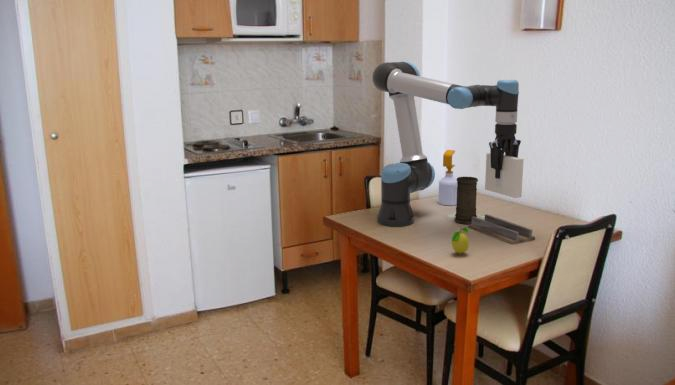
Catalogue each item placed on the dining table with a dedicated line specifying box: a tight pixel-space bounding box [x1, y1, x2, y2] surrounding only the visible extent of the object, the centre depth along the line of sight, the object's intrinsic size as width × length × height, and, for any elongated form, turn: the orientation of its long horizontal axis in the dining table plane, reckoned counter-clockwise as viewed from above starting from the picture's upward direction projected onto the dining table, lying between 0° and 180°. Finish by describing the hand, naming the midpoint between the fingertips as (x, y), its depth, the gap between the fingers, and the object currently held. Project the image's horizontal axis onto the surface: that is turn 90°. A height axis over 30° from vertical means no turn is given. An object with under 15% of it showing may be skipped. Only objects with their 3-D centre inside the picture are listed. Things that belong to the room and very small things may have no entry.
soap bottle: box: [437, 149, 458, 207], centre depth 254 cm, size 9×9×25 cm
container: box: [454, 176, 479, 225], centre depth 226 cm, size 9×9×18 cm
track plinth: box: [467, 213, 536, 245], centre depth 211 cm, size 11×24×4 cm, turn 27°
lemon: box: [451, 226, 470, 255], centre depth 189 cm, size 7×6×10 cm
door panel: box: [484, 152, 524, 199], centre depth 206 cm, size 4×16×14 cm, turn 26°
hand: (502, 186), depth 207 cm, fingers closed on door panel, 3 cm apart
